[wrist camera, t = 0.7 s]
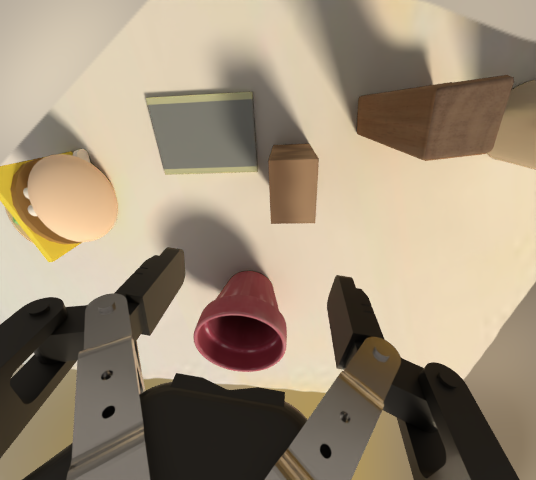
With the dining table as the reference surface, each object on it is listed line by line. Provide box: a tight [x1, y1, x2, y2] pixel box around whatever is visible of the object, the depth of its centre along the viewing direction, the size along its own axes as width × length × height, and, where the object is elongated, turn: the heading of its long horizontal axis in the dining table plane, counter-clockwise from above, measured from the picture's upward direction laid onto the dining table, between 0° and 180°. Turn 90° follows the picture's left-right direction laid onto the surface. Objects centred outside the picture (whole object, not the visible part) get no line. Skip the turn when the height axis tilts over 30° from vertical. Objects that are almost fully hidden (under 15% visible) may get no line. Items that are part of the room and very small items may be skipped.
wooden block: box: [357, 75, 514, 161], centre depth 22 cm, size 9×4×18 cm, turn 98°
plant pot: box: [194, 271, 287, 372], centre depth 41 cm, size 14×14×13 cm
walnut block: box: [268, 144, 319, 224], centre depth 30 cm, size 5×7×11 cm
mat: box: [146, 92, 258, 175], centre depth 33 cm, size 14×10×1 cm
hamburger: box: [0, 149, 118, 262], centre depth 33 cm, size 12×8×12 cm
